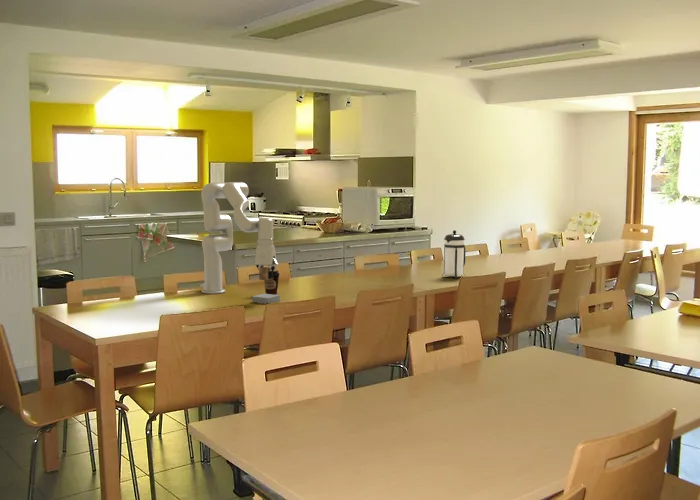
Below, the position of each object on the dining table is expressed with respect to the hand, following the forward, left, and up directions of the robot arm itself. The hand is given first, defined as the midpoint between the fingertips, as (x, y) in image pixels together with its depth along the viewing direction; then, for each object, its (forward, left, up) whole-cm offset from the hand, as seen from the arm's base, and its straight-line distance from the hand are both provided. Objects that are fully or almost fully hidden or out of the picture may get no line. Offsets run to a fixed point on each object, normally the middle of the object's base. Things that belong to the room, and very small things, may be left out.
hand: (266, 278), depth 363 cm
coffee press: (+47, +135, -12) cm, 143 cm away
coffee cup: (-10, +18, -12) cm, 24 cm away
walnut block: (0, 0, -1) cm, 1 cm away
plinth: (0, 0, -12) cm, 12 cm away
